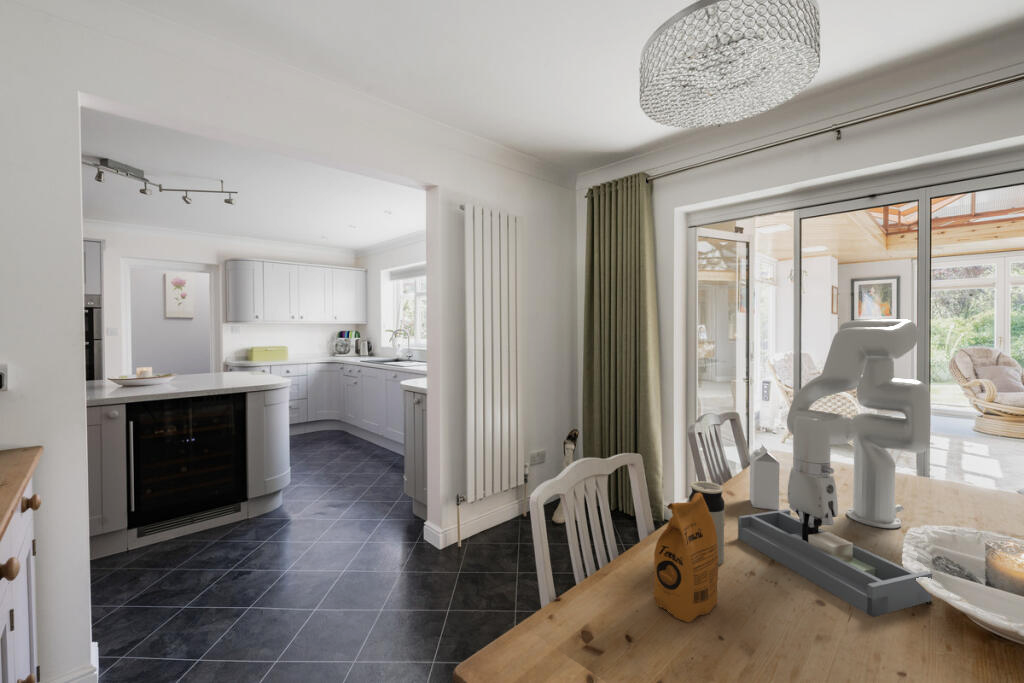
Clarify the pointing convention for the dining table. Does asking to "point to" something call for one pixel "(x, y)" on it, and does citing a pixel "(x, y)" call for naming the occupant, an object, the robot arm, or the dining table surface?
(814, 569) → the box
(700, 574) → the coffee package
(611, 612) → the dining table surface
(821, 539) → the block
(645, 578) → the dining table surface
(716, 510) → the travel mug
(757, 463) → the milk carton
